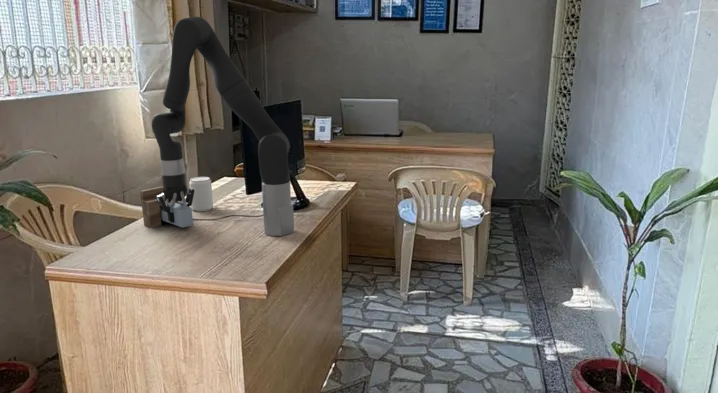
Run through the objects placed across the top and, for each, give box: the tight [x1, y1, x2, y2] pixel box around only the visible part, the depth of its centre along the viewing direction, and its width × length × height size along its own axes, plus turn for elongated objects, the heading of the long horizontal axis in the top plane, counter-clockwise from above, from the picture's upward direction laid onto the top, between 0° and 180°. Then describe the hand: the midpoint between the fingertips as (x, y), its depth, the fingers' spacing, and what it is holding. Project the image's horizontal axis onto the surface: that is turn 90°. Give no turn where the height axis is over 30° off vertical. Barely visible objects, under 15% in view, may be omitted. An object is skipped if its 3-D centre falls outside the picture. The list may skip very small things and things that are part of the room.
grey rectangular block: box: [159, 200, 194, 228], centre depth 184 cm, size 16×4×6 cm, turn 50°
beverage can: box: [188, 176, 214, 212], centre depth 204 cm, size 8×8×12 cm
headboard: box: [139, 185, 179, 228], centre depth 189 cm, size 6×14×12 cm, turn 140°
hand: (178, 220), depth 184 cm, fingers closed on grey rectangular block, 4 cm apart
